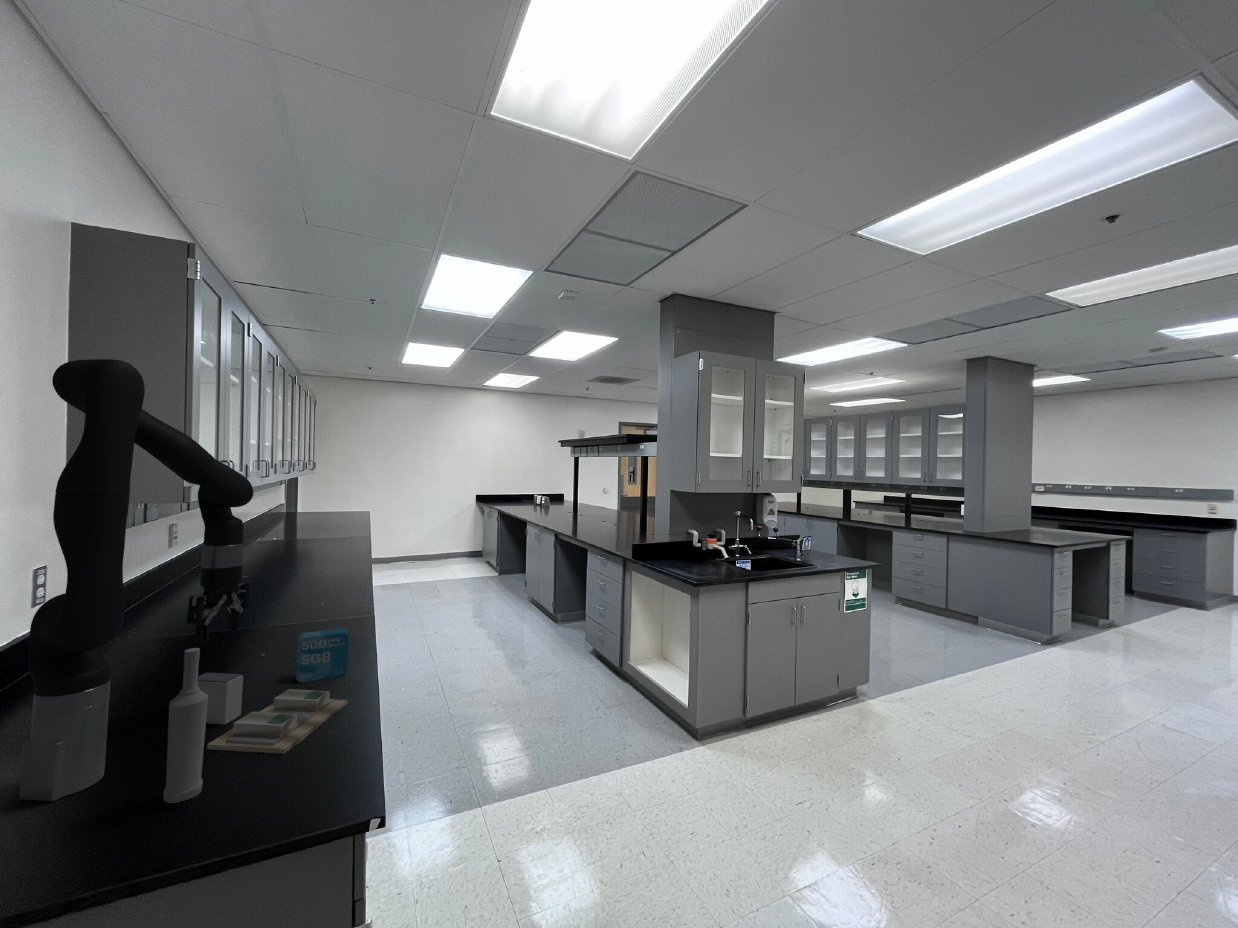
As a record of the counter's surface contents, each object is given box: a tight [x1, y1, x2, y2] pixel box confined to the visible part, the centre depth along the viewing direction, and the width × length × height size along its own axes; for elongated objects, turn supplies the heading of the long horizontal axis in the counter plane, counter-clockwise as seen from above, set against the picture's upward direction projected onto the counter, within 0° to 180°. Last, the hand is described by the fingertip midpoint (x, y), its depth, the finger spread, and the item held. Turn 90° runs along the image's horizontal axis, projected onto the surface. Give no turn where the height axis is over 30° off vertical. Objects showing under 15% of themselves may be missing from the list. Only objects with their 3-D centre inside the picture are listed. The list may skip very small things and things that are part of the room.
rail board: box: [206, 688, 349, 755], centre depth 112 cm, size 22×16×4 cm
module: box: [197, 672, 244, 725], centre depth 113 cm, size 4×9×9 cm, turn 88°
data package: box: [295, 628, 350, 683], centre depth 138 cm, size 12×4×12 cm, turn 124°
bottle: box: [163, 647, 208, 803], centre depth 87 cm, size 5×5×25 cm
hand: (218, 635), depth 114 cm, fingers open, 8 cm apart
